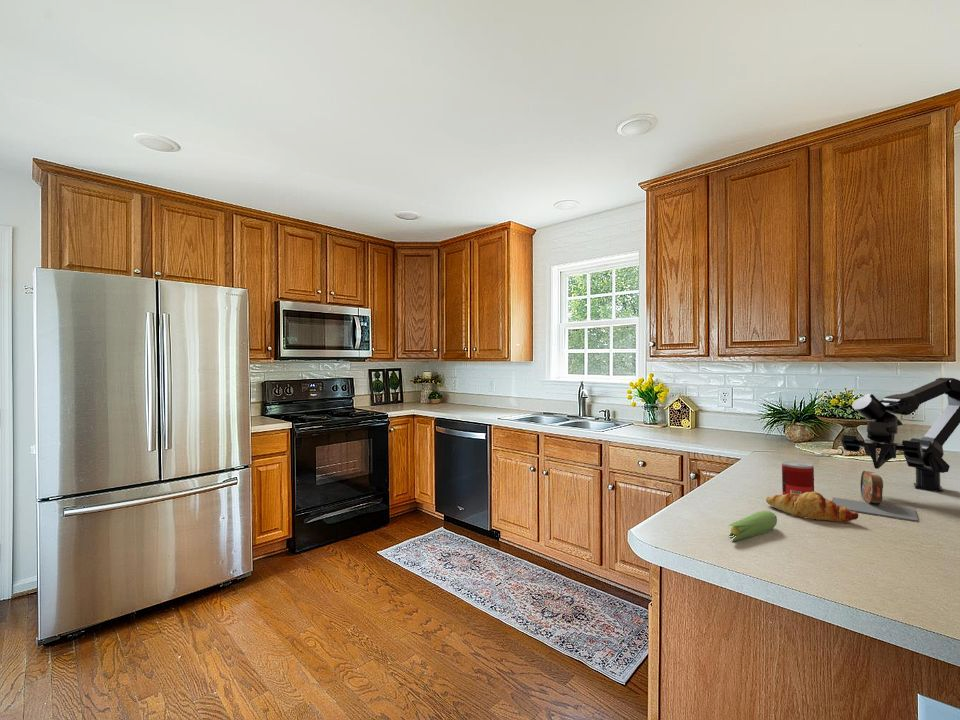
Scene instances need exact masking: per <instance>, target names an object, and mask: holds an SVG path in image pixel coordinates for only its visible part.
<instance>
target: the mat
mask: <svg viewBox="0 0 960 720" xmlns="http://www.w3.org/2000/svg"><path fill="white" fill-rule="evenodd" d="M831 499H832V500H831V501H833V502H834V503H835V504H837V505H838V506H843V507H845V508H847V509H848V510H850V511H854V512H857V513H858V514H865V515H871V514H872V516H878V515H880V516H879V517H884V516H885V517H884V518H890V517H892V519H896V518H898V520H903V519H904V521H909V520H910V521H911V522H915V521H916V523H918V522H919V519H918V515H917V513H916V510H915V508H910V507H909V508H908V507H902V506H896V505H895V506H894V505H889V504H883V503H881V504H873V503H868V502H867V501H863V500H862V501H861V500H854V499H847V498H840V497H833V496H832V498H831Z"/></svg>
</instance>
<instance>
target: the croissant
mask: <svg viewBox="0 0 960 720" xmlns="http://www.w3.org/2000/svg"><path fill="white" fill-rule="evenodd" d="M765 502H766V503H767V504H768V505H770V506H771V507H773V508H774V509H777V510H779V511H782V512H784V513H786V514H790V515H792V516H794V515H795V516H794V517H799V516H802V517H801V518H804V517H807V518H806V519H808V518H811V519H810V520H814V519H816V520H815V521H817V520H819V521H827V520H828V522H837V523H843V522H844V523H847V522H852V521H854V520H855V521H856V520H858V519H859V512H854V511H850V510H848V509H847V508H845V507H843V506H838V505H837V504H835V503H834V502H833V501H832V500H830V499H828V498H826V497H824V496H823V495H822V494H821V493H819V492H816V491H815V490H814V491H813V492H805V493H803V494H795V493H789V494H786V495H783V494H774V495H773V496H767V497H766V498H765Z"/></svg>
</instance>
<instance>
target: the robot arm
mask: <svg viewBox="0 0 960 720" xmlns="http://www.w3.org/2000/svg"><path fill="white" fill-rule="evenodd" d="M942 395H946V397H947V402H948V404H947V406H946V408H944V410H943V411H942V413H941V414H940V415H939V416H938V417H937V419H936V420H935V421H934V423H933V424H932V426H931V427H930V428H929V429H928V430H927V432H926V433H925V434H924V436H922V438H914V437H913V438H911V439H910V440H908V439H907V440H906V439H903V440H902V442H901V443H894V441H895V437H896V435H897V434H898V426H899V427H900V426H902V425H903V422H902V421H901V420H900V419H899V418H898V417H897V415H900V416H909V415H911V414H913V413H914V412H916V411H917V410H918V409H919V407H920V405H922V404H924V403H926V402H928V401H931V400H933V399H934V398H935V399H936V398H937V397H939V396H942ZM851 407H852V409H854V410H855V411H857V412H858V414H860V415H861V416H862V417H864V418H865V420H868V421H867V425H866V433H867V435H866V437H867V438H864V440H860V438H859V435H856V434H855V435H854V434H843V435H842V436H841V437H840V438H841V439H840V441H841V444H842V447H843V449H844V450H845V451H846V452H855V453H858V452H859V451H860V450H861V448H864V452H865V455H867V456H870V458H871V461H872V464H873V467H874V469H875V470H878V469H880V468H881V467H882V466H883V465H884V464H886V463H887V462H888V461H890V460H892V459H896V458H897V453H898V451H899V452H900V451H901V452H903V456H904V459H905V461H906V463H907V466H908V467H911V468H914V469H915V482H913V486H914V489H920V490H926V491H927V490H929V491H937V492H944V489H943V487H942V486H941V474H945V473H948V472H949V470H950V468H951V467H950V465H949V463H947V462H946V461H945V460H944V458H943V456H944V455H945V454H944V449H943V447H944V445H945V443H946V442H947V440H948V439H949V438H950V436H952V434H953V433H954V432H955V430H956V429H957V427H958V426H959V425H960V379H957V378H955V377H938V378H936V379H935V380H933V381H931V382H928V383H927V384H923V385H922V386H919V387H916V388H915V389H912V390H910V391H908V392H905V393H904V392H903V393H898V394H897V393H896V394H890V395H887V396H885V397H883V398H882V399H881V400H879V399H878V398H876V395H874V394H873V393H866V394H865V395H864V396H861V397H858V398H857V399H856V400H854V401H853V403H852V406H851ZM878 450H879V453H878Z"/></svg>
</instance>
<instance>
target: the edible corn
mask: <svg viewBox="0 0 960 720" xmlns="http://www.w3.org/2000/svg"><path fill="white" fill-rule="evenodd" d="M777 522H778V517H777V515H776V513H775V512H772V511H771V510H760V511H758V512H754V513H752V514H750V515H747V516H746V517H743V518H742V519H739V520H737V521H735V522H732V523H730V524H728V527H730V533H729V535H728V537H729V536H733V535H734V536H733V537H735V536H736V537H735V538H734V539H733V541H734V542H736V540H737V541H741V540H743V538H744V539H747V538H750V536H751V537H754V536H758V535H761V534H765V533H767V532H770V530H771V531H772V530H773V529H774V528H775V526H776V525H777ZM764 532H765V533H764ZM757 534H758V535H757ZM753 535H754V536H753Z"/></svg>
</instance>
